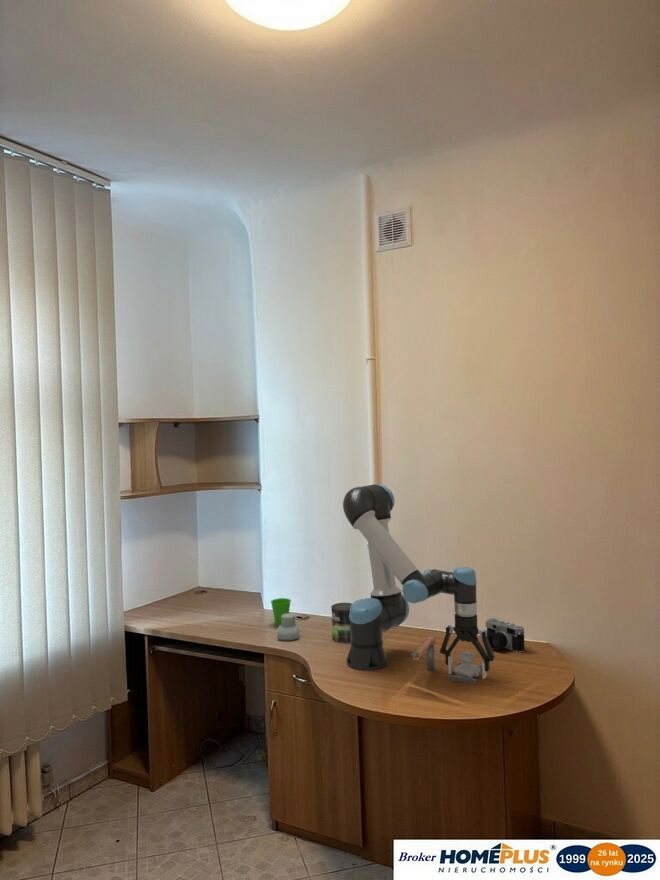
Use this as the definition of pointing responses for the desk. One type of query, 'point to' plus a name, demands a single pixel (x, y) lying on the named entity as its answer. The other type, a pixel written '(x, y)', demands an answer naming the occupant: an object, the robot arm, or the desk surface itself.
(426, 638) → the ball-knob lever
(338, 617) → the coffee can
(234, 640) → the desk surface
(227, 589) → the desk surface
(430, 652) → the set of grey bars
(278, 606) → the cup
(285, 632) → the air freshener
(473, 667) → the stamp
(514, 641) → the camera
